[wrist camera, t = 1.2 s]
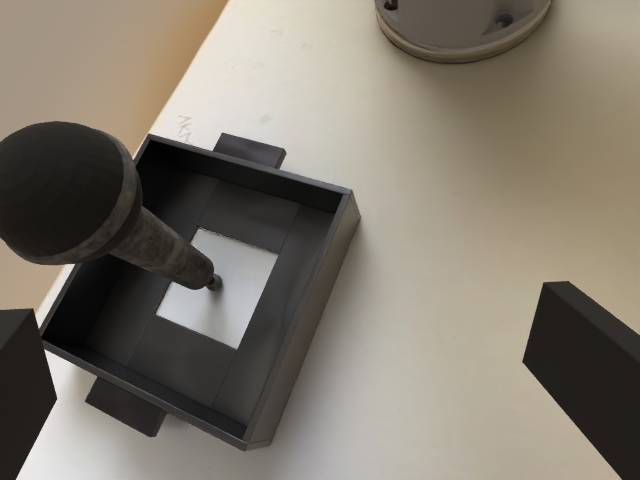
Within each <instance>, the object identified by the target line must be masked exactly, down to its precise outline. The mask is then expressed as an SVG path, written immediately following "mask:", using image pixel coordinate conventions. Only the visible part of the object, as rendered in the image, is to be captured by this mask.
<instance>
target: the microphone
mask: <svg viewBox="0 0 640 480" xmlns="http://www.w3.org/2000/svg"><path fill="white" fill-rule="evenodd" d="M142 202H143V196H142V185H141V181H140V177H139V174H138V172H137V170H136V167H135V164H134V161H133V159H132V157H131V155H130V153H129V152H128V150H127V148H126V147H125V146H124V145H123V144H122V143H121V142H120V141H119V140H118V139H116V138H115V137H113V136H112V135H110V134H107V133H105V132H103V131H100V130H96V129H92V128H89V127H87V126H84V125H80V124H77V123H69V122H59V121H54V122H46V123H38V124H33V125H30V126H27V127H25V128H23V129H20V130H18V131H16V132H15V133H12V134H11V135H9V136H8V137H6V138H5V139H4V140H3V141H1V142H0V238H1V239H2V240H4V241H5V242H6V244H7V245H8V247H10V249H12V250H13V251H14V252H15V253H16V254H17V255H18V256H20V257H21V258H23V259H25V260H27V261H29V262H32V263H35V264H40V265H64V264H79V263H82V262H86V261H90V260H94V259H97V258H99V257H102V256H104V255H106V254H108V253H109V254H111V255H114V256H116V257H118V258H121V259H123V260H125V261H127V262H130V263H132V264H134V265H137V266H139V267H141V268H143V269H146V270H148V271H150V272H153V273H155V274H157V275H159V276H162V277H164V278H166V279H169V280H171V281H173V282H175V283H178V284H180V285H182V286H184V287H187V288H189V289H192V290H198V289H201V288H203V287H205V286H206V287H207V288H208V289H209V290H212V291H215V290H218V289H219V288H220V287H221V285H222V279H221V277H220V276H219V275H216V274H214V266H213V263H212V262H211V260H210V259H209V258H207V257H206V256H205V255H204V254H202V253H201V252H200V251H199V250H197V249H196V248H195V247H194V246H192V245H191V244H190V243H188V242H187V241H186V240H185V239H183V238H182V237H181V236H180V235H178V234H177V233H176V232H175V231H173V230H172V229H171V228H170V227H168V226H167V225H166V224H165V223H163V222H162V221H161V220H160V219H158V218H157V217H156V216H155V215H153V214H152V213H151V212H150V211H148V210H147V209H146V208H144V207H143V206H142Z"/></svg>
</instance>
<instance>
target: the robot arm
mask: <svg viewBox="0 0 640 480" xmlns="http://www.w3.org/2000/svg"><path fill="white" fill-rule="evenodd" d="M550 3H551V0H375V6H376V15H377V18H378V22H379V24H380V26H381V28H382V30H383V32H384V33H385V34H386V36H387V37H388V38H389V39H390V40H391V41H392V42H393V43H394V44H395V45H396V46H398V47H399V48H401V49H402V50H404V51H406V52H407V53H409V54H411V55H414V56H416V57H419V58H422V59H426V60H430V61H435V62H444V63H462V62H471V61H477V60H481V59H485V58H489V57H492V56H495V55H497V54H500V53H502V52H504V51H506V50H508V49H510V48H512V47H514V46H515V45H517V44H518V43H520V42H521V41H523V40H524V39H525V38H527V37H528V36H529V35H530V34H531V33H532V32H533V31H534V30H535V29H536V28H537V27H538V26H539V24H540V23H541V21H542V20H543V19H544V17H545V15H546V13H547V11H548V9H549V6H550ZM522 362H523V363H524V364H525V366H526V367H527V368H528V369H529V370H530V372H531V373H532V374H533V375H534V376H535V377H536V379H537V380H538V381H539V382H540V383H541V384H542V386H543V387H544V388H545V389H546V390H547V392H548V393H549V394H550V395H551V396H552V397H553V399H554V400H555V401H556V402H557V403H558V405H559V406H560V407H561V408H562V409H563V410H564V412H565V413H566V414H567V415H568V416H569V417H570V419H571V420H572V421H573V422H574V423H575V425H576V426H577V427H578V428H579V429H580V430H581V432H582V433H583V434H584V435H585V436H586V438H587V439H588V440H589V441H590V442H591V443H592V445H593V446H594V447H595V448H596V449H597V450H598V452H599V453H600V454H601V455H602V456H603V458H604V459H605V460H606V461H607V462H608V463H609V465H610V466H611V467H612V468H613V469H614V471H615V472H616V473H617V474H618V475H619V476H620V478H621V479H622V480H640V335H638V334H637V333H636V332H634V331H633V330H632V329H631V328H629V327H628V326H627V325H625V324H624V323H623V322H621V321H620V320H619V319H617V318H616V317H615V316H613V315H612V314H611V313H610V312H608V311H607V310H606V309H604V308H603V307H602V306H600V305H599V304H598V303H596V302H595V301H594V300H592V299H591V298H590V297H589V296H587V295H586V294H585V293H583V292H582V291H581V290H579V289H578V288H577V287H575V286H574V285H573V284H571V283H570V282H569V281H562V282H544V283H543V286H542V290H541V294H540V298H539V301H538V305H537V309H536V312H535V316H534V320H533V324H532V327H531V331H530V335H529V339H528V342H527V346H526V350H525V353H524V357H523V361H522ZM56 400H57V396H56V392H55V388H54V385H53V381H52V377H51V373H50V370H49V366H48V362H47V358H46V355H45V351H44V347H43V343H42V340H41V336H40V332H39V328H38V325H37V321H36V317H35V313H34V310H33V308H32V309H13V310H0V480H16V478H17V476H18V474H19V472H20V470H21V468H22V466H23V464H24V462H25V460H26V458H27V456H28V455H29V453H30V451H31V449H32V447H33V445H34V443H35V441H36V439H37V437H38V435H39V433H40V431H41V429H42V427H43V425H44V423H45V421H46V420H47V418H48V416H49V414H50V412H51V410H52V408H53V406H54V404H55V402H56Z"/></svg>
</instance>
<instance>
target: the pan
mask: <svg viewBox="0 0 640 480" xmlns="http://www.w3.org/2000/svg"><path fill="white" fill-rule="evenodd" d="M285 156H286V151H285V149H283V148H279V147H276V146H272V145H268V144H264V143H260V142H256V141H253V140H249V139H245V138H241V137H237V136H233V135H229V134H226V133H222V134H221V136H220V138H219V140H218V142H217V144H216V146H215V148H214V149H213V151H210V150H206V149H203V148H199V147H196V146H192V145H188V144H185V143H181V142H178V141H174V140H170V139H167V138H163V137H159V136H156V135H152V134H148V135H147V137H146V139H145V140H144V142H143V144H142V146H141V148H140V149H139V151H138V153H137V155H136V157H135V158H134V160H133V161H134V164H135V167H136V170H137V172H138V174H139V177H140V181H141V185H142V196H143V202H142V206H143V207H144V208H146V209H147V210H148V211H150V212H151V213H152V214H153V215H155V216H156V217H157V218H158V219H160V220H161V221H162V222H163V223H165V224H166V225H167V226H168V227H170V228H171V229H172V230H173V231H175V232H176V233H177V234H178V235H180V236H181V237H182V238H183V239H185V240H186V241H187V242H188V243H190V241H191V239H192V237H193V235H194V233H195V231H196V229H197V227H198V226H199V227H202V228H205V229H208V230H211V231H214V232H217V233H220V234H223V235H225V236H228V237H231V238H234V239H237V240H240V241H243V242H246V243H249V244H252V245H255V246H258V247H260V248H263V249H266V250H269V251H272V252H275V253H278V254H279V256H278V258H277V261H276V263H275V265H274V267H273V270H272V272H271V274H270V276H269V279H268V281H267V283H266V286H265V288H264V290H263V292H262V295H261V297H260V299H259V302H258V304H257V306H256V308H255V311H254V313H253V315H252V318H251V320H250V322H249V324H248V327H247V329H246V331H245V334H244V336H243V338H242V340H241V343H240V345H239V347H238V349H234V348H232V347H230V346H228V345H225V344H223V343H221V342H218V341H216V340H214V339H211V338H209V337H207V336H204V335H202V334H200V333H197V332H195V331H193V330H191V329H188V328H186V327H184V326H181V325H179V324H177V323H174V322H172V321H170V320H167V319H165V318H163V317H161V316H158V315H156V314H155V312H156V310H157V308H158V306H159V304H160V302H161V300H162V298H163V296H164V294H165V292H166V290H167V288H168V286H169V284H170V282H171V280H169V279H166V278H164V277H162V276H159V275H157V274H155V273H153V272H150V271H148V270H146V269H143V268H141V267H139V266H137V265H134V264H132V263H130V262H127V261H125V260H123V259H121V258H118V257H116V256H114V255H111V254H109V253H108V254H106V255H104V256H102V257H99V258H97V259H94V260H90V261H86V262H82V263H79V264H75V266H74V268H73V269H72V271H71V273H70V275H69V277H68V278H67V280H66V282H65V284H64V285H63V287H62V289H61V291H60V293H59V294H58V296H57V298H56V300H55V302H54V303H53V305H52V307H51V309H50V311H49V312H48V314H47V316H46V318H45V320H44V321H43V323H42V325H41V327H40V328H39V332H40V336H41V340H42V343H43V347H44V349H45V350H47V351H49V352H51V353H53V354H55V355H57V356H59V357H61V358H63V359H65V360H67V361H69V362H71V363H73V364H75V365H77V366H79V367H80V368H82V369H84V370H86V371H88V372H90V373H92V374H94V375H96V376H98V377H97V379H96V381H95V383H94V384H93V386H92V388H91V390H90V392H89V394H88V396H87V398H86V400H85V402H86V403H88V404H90V405H91V406H93V407H95V408H97V409H99V410H101V411H103V412H104V413H106V414H108V415H110V416H112V417H114V418H115V419H117V420H119V421H121V422H123V423H125V424H126V425H128V426H130V427H132V428H134V429H136V430H138V431H139V432H141V433H143V434H145V435H147V436H149V437H155V436H156V435H157V433H158V431H159V428H160V426H161V424H162V422H163V420H164V418H165V415H166V413H167V412H168V413H170V414H172V415H174V416H176V417H178V418H180V419H182V420H184V421H186V422H188V423H190V424H192V425H194V426H196V427H198V428H199V429H201V430H203V431H205V432H207V433H209V434H211V435H213V436H215V437H217V438H219V439H221V440H223V441H225V442H227V443H229V444H231V445H233V446H235V447H237V448H239V449H240V450H242V451H249V450H253V449H257V448H261V447H265V446H269V445H270V443H271V441H272V438H273V436H274V433H275V431H276V428H277V426H278V423H279V421H280V418H281V416H282V413H283V411H284V408H285V406H286V403H287V401H288V398H289V396H290V393H291V391H292V388H293V386H294V383H295V381H296V378H297V376H298V373H299V371H300V368H301V366H302V363H303V360H304V358H305V355H306V353H307V350H308V348H309V345H310V343H311V340H312V338H313V335H314V333H315V330H316V328H317V325H318V323H319V320H320V318H321V315H322V313H323V310H324V308H325V305H326V303H327V300H328V298H329V295H330V293H331V290H332V288H333V285H334V283H335V280H336V278H337V275H338V273H339V270H340V268H341V265H342V263H343V260H344V258H345V255H346V252H347V250H348V247H349V245H350V242H351V240H352V237H353V235H354V232H355V230H356V227H357V225H358V222H359V220H360V217H361V216H360V213H359V210H358V207H357V203H356V200H355V197H354V194H353V191H352V190H351V189H347V188H343V187H340V186H336V185H333V184H329V183H325V182H322V181H318V180H315V179H311V178H307V177H304V176H300V175H297V174H293V173H289V172H286V171H282V170H279V169H280V167H281V164H282V162H283V160H284V158H285Z"/></svg>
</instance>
